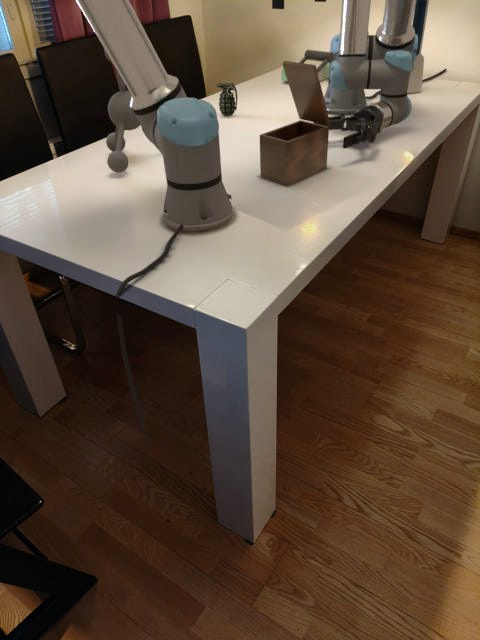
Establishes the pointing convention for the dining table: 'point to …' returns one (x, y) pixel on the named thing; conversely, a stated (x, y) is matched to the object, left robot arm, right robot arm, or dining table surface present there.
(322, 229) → the dining table surface
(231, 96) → the grenade
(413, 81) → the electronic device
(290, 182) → the chest
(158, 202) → the dining table surface
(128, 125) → the molecular model
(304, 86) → the lid
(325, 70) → the decorative block
